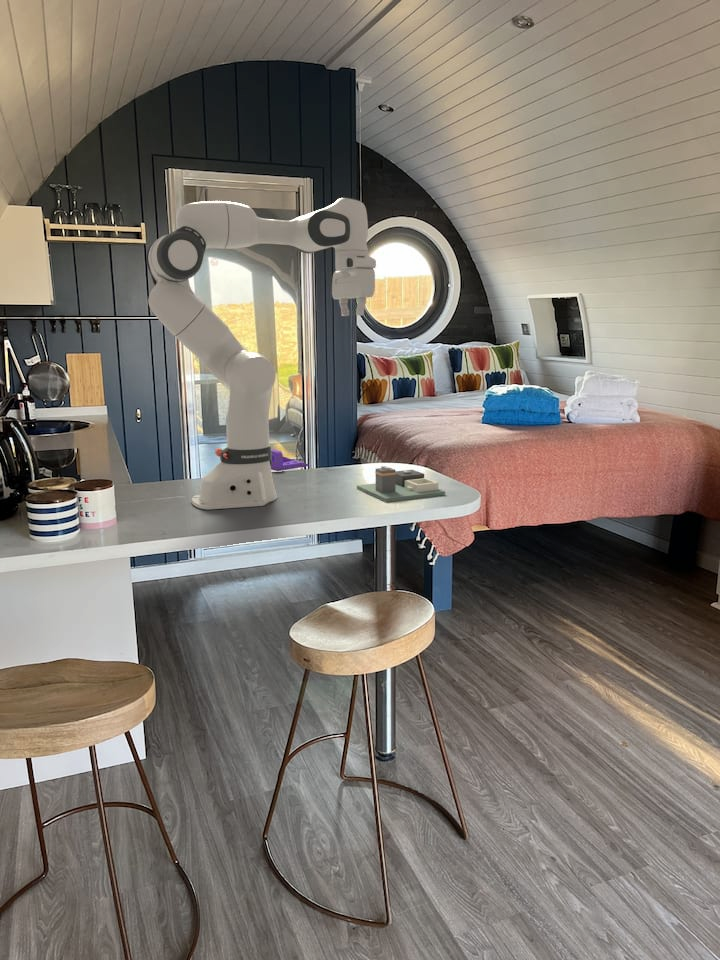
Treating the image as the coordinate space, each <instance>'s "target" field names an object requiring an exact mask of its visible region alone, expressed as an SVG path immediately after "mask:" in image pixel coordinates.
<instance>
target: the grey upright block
mask: <svg viewBox="0 0 720 960" xmlns="http://www.w3.org/2000/svg"><path fill="white" fill-rule="evenodd" d="M395 471H396V469H395V468H392V467H389V466H385V465H382V466H380V468H375V471H374V473H375V483H376V491H379V492H381V493H388V492H396V472H395Z"/></svg>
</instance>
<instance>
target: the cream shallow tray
mask: <svg viewBox="0 0 720 960" xmlns="http://www.w3.org/2000/svg"><path fill="white" fill-rule="evenodd" d="M405 488H406V490H409V491H415V492H424V491H432V490H438V489H439V481H438V482H437V481H435V480H433V479H429V478H427V477H424V478H422V479H413V480H405Z"/></svg>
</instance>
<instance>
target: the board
mask: <svg viewBox="0 0 720 960" xmlns="http://www.w3.org/2000/svg"><path fill="white" fill-rule="evenodd" d="M356 489H357V490H358V491H361V492H362V493H365V494H367V495H369V496H371V497H373V498H376V499H378V500H379V501H382V502H384V503H390V502H399V501H407V500H408V501H409V500H415V499H422V498H423V499H424V498H433V497H440V495H441V496H445V495H446V491H445V490H442V489H441V488H438V490H432V491H424V492H415V491H409V490H406V488H405V487H402V486H399V485H397V484H396V492H388V493H381V492H379V491H376V482H375V483H366V484H360V485H359V484H358V485H356Z"/></svg>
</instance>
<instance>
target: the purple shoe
mask: <svg viewBox="0 0 720 960" xmlns="http://www.w3.org/2000/svg"><path fill="white" fill-rule="evenodd" d="M271 452H272V466H271V471H275V472H281V471H285V470H286V471H287V470H293V469H298V468H304V467H305V468H306V467H309V466H310V465H309V463H307V462H303V461H298V460H294V459H291V458H288V457H286V456H284V455H283V453H282V451H281V450H277V449H272V448H271Z"/></svg>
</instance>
